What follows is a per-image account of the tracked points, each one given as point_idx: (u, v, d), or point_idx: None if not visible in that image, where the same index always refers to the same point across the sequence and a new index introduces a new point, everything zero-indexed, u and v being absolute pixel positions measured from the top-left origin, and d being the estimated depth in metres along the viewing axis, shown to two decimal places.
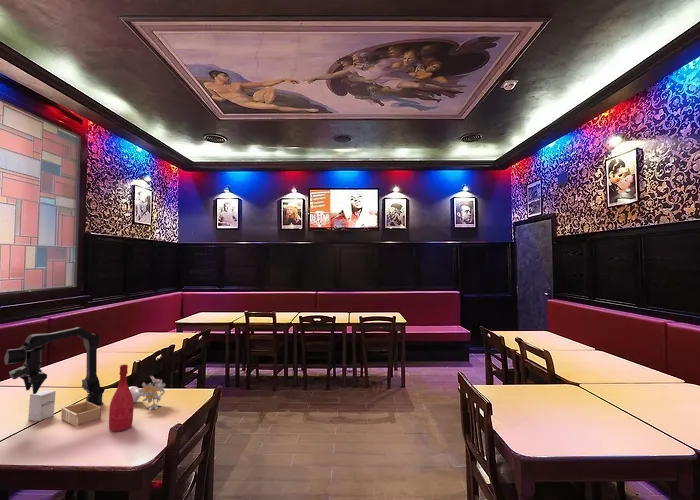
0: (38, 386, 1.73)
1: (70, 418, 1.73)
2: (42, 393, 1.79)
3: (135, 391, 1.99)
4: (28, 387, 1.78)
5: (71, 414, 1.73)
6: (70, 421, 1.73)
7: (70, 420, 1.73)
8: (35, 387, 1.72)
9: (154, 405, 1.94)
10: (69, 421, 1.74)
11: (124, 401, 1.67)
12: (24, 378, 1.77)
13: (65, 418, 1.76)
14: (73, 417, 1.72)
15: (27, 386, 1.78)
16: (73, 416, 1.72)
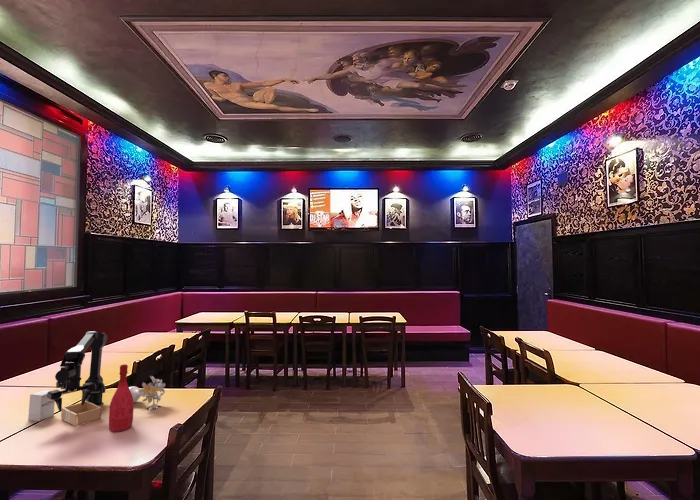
0: (58, 404, 1.69)
1: (70, 418, 1.73)
2: (42, 393, 1.79)
3: (135, 391, 1.99)
4: (82, 402, 1.78)
5: (71, 414, 1.73)
6: (70, 421, 1.73)
7: (70, 420, 1.73)
8: (57, 404, 1.70)
9: (154, 405, 1.94)
10: (69, 421, 1.74)
11: (124, 401, 1.67)
12: (82, 392, 1.80)
13: (65, 418, 1.76)
14: (73, 417, 1.72)
15: (81, 401, 1.78)
16: (73, 416, 1.72)
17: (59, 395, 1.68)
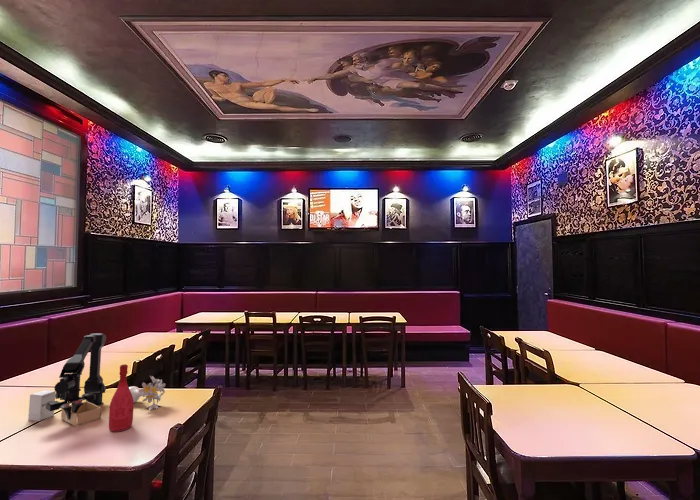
0: (67, 413, 1.72)
1: (70, 418, 1.73)
2: (42, 393, 1.79)
3: (135, 391, 1.99)
4: None
5: (71, 414, 1.73)
6: (70, 421, 1.73)
7: (70, 420, 1.73)
8: (66, 413, 1.73)
9: (154, 405, 1.94)
10: (69, 421, 1.74)
11: (124, 401, 1.67)
12: (72, 405, 1.76)
13: (65, 418, 1.76)
14: (73, 417, 1.72)
15: None
16: (73, 416, 1.72)
17: (58, 406, 1.68)
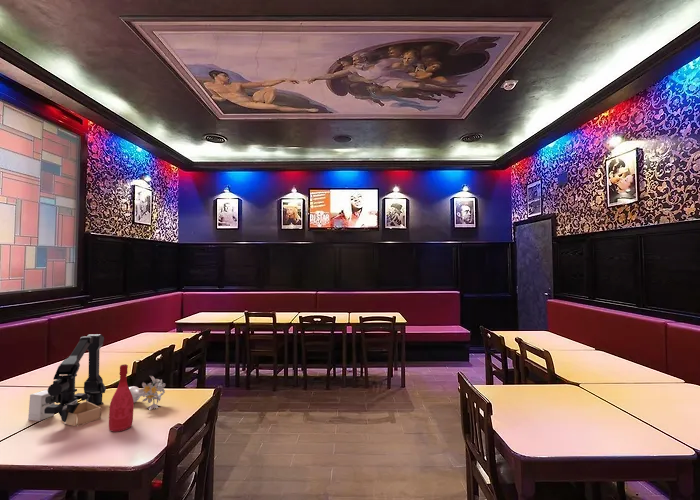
0: (64, 415, 1.70)
1: (67, 419, 1.72)
2: (42, 393, 1.79)
3: (135, 391, 1.99)
4: None
5: (69, 415, 1.72)
6: (67, 422, 1.72)
7: (68, 421, 1.72)
8: (62, 416, 1.70)
9: (154, 405, 1.94)
10: (66, 422, 1.72)
11: (124, 401, 1.67)
12: (67, 406, 1.74)
13: None
14: (72, 417, 1.71)
15: None
16: (72, 416, 1.71)
17: (61, 408, 1.66)
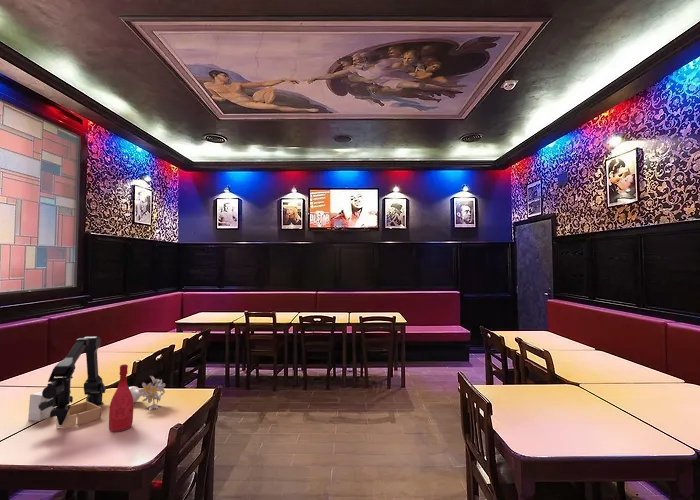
0: (63, 418, 1.67)
1: (63, 422, 1.69)
2: None
3: (135, 391, 1.99)
4: None
5: None
6: (62, 425, 1.69)
7: (63, 424, 1.69)
8: (60, 418, 1.67)
9: (154, 405, 1.94)
10: (60, 425, 1.69)
11: (124, 401, 1.67)
12: None
13: None
14: (71, 418, 1.70)
15: None
16: (71, 417, 1.70)
17: (67, 409, 1.65)
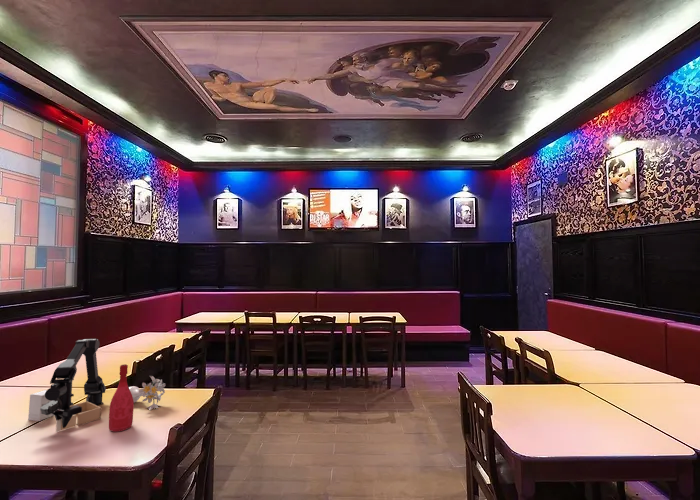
0: (68, 419, 1.65)
1: None
2: (42, 393, 1.79)
3: (135, 391, 1.99)
4: None
5: None
6: (62, 428, 1.66)
7: None
8: (65, 420, 1.64)
9: (154, 405, 1.94)
10: (61, 428, 1.65)
11: (124, 401, 1.67)
12: (56, 413, 1.65)
13: None
14: (71, 419, 1.69)
15: None
16: (71, 418, 1.69)
17: None
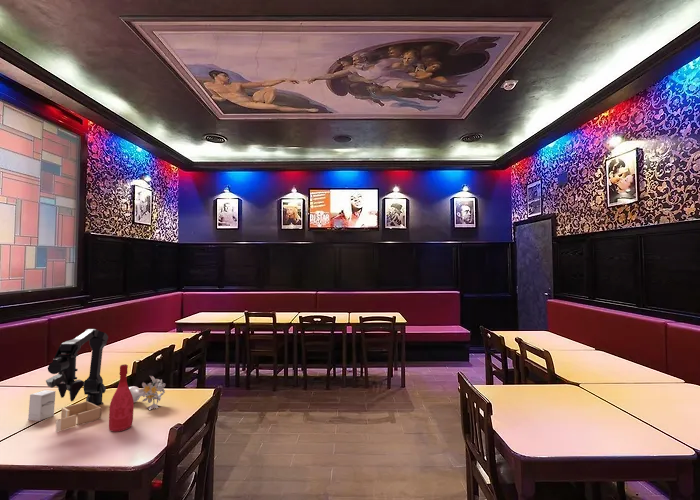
0: (75, 393, 1.74)
1: (63, 424, 1.66)
2: (42, 393, 1.79)
3: (135, 391, 1.99)
4: (63, 394, 1.78)
5: (66, 419, 1.67)
6: (62, 428, 1.66)
7: (63, 426, 1.66)
8: (73, 394, 1.73)
9: (154, 405, 1.94)
10: (61, 428, 1.65)
11: (124, 401, 1.67)
12: (59, 385, 1.77)
13: None
14: (71, 419, 1.69)
15: (62, 393, 1.77)
16: (71, 418, 1.69)
17: None
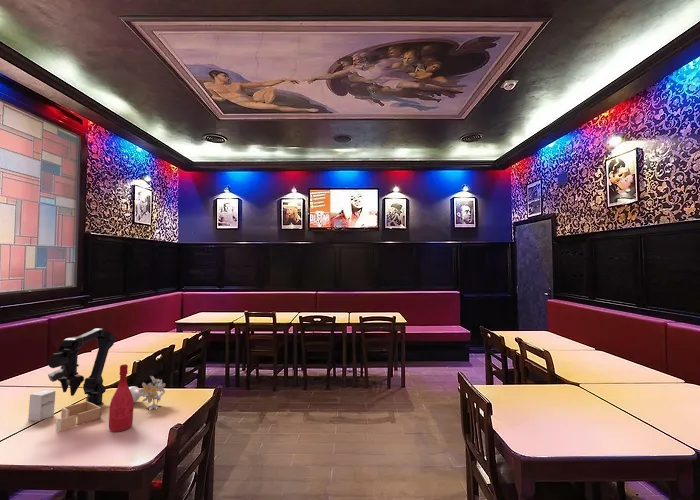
0: (75, 388, 1.79)
1: (63, 424, 1.66)
2: (42, 393, 1.79)
3: (135, 391, 1.99)
4: (65, 389, 1.84)
5: (66, 419, 1.67)
6: (62, 428, 1.66)
7: (63, 426, 1.66)
8: (73, 389, 1.78)
9: (154, 405, 1.94)
10: (61, 428, 1.65)
11: (124, 401, 1.67)
12: (61, 380, 1.83)
13: None
14: (71, 419, 1.69)
15: (64, 388, 1.83)
16: (71, 418, 1.69)
17: None
